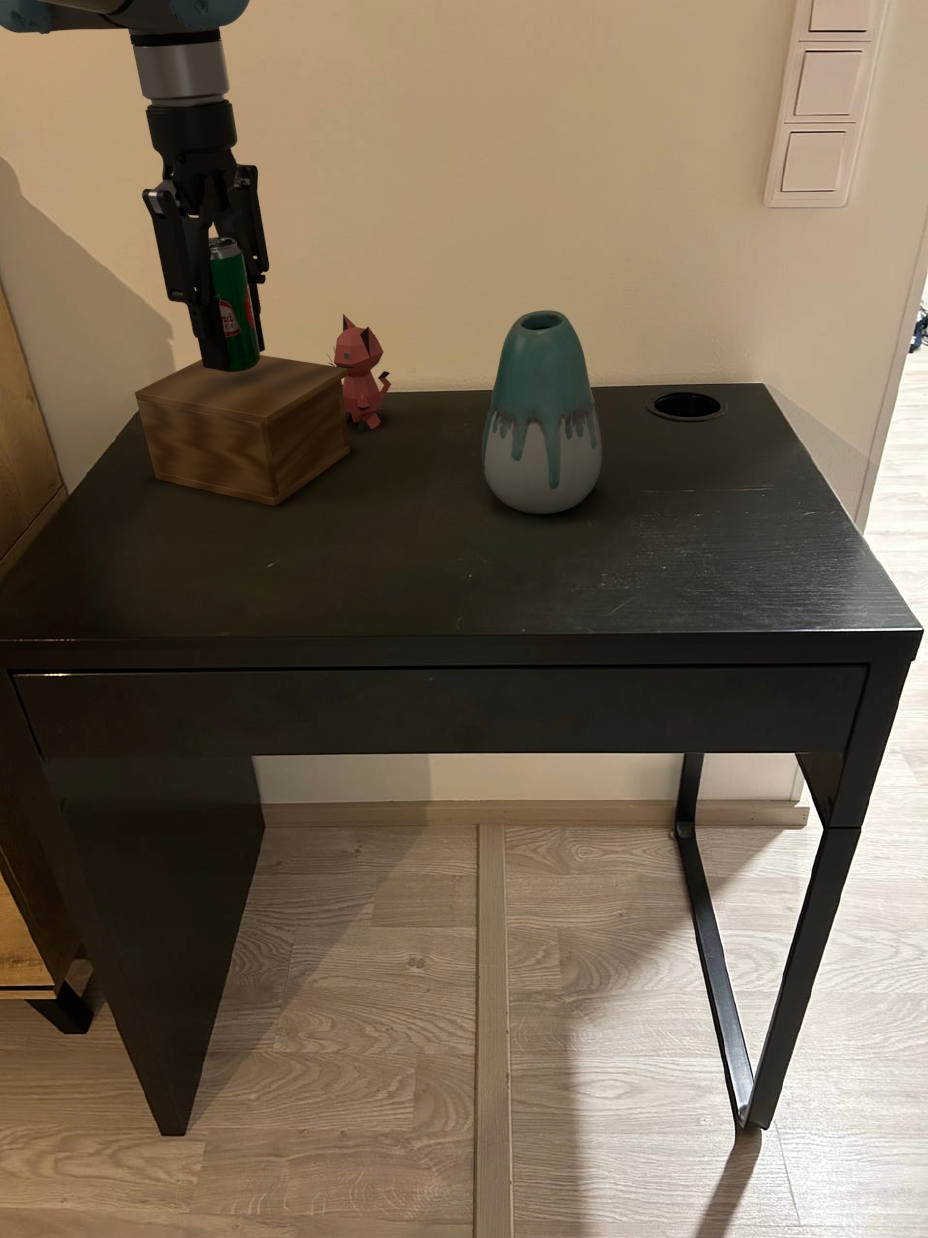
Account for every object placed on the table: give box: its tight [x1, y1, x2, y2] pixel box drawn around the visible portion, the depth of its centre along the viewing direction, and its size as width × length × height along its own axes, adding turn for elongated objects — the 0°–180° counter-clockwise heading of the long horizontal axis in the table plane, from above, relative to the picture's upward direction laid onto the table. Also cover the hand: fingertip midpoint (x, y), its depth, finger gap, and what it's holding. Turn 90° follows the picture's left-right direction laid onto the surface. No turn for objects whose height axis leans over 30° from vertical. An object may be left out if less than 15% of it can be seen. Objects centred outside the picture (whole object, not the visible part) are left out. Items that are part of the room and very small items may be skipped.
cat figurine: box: [327, 313, 392, 432], centre depth 109 cm, size 7×7×12 cm
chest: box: [136, 379, 351, 507], centre depth 101 cm, size 16×14×9 cm
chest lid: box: [134, 354, 348, 424], centre depth 98 cm, size 17×14×1 cm
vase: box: [481, 309, 603, 515], centre depth 89 cm, size 12×12×18 cm
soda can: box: [195, 236, 261, 372], centre depth 94 cm, size 5×5×12 cm
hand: (234, 357), depth 97 cm, fingers closed on soda can, 5 cm apart
